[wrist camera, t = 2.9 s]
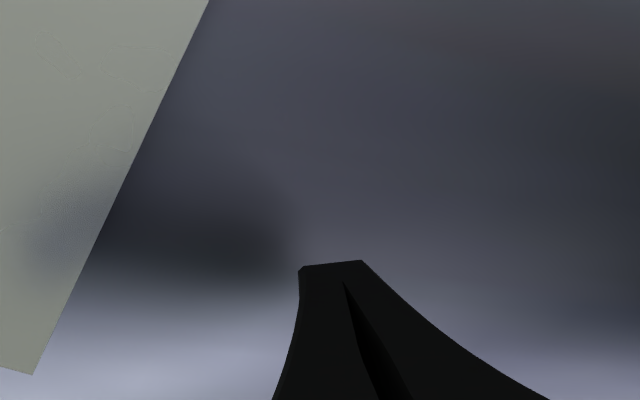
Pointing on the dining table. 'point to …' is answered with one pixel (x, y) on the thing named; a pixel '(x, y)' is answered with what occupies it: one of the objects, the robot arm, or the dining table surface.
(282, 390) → the robot arm
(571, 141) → the dining table surface
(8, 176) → the bar
